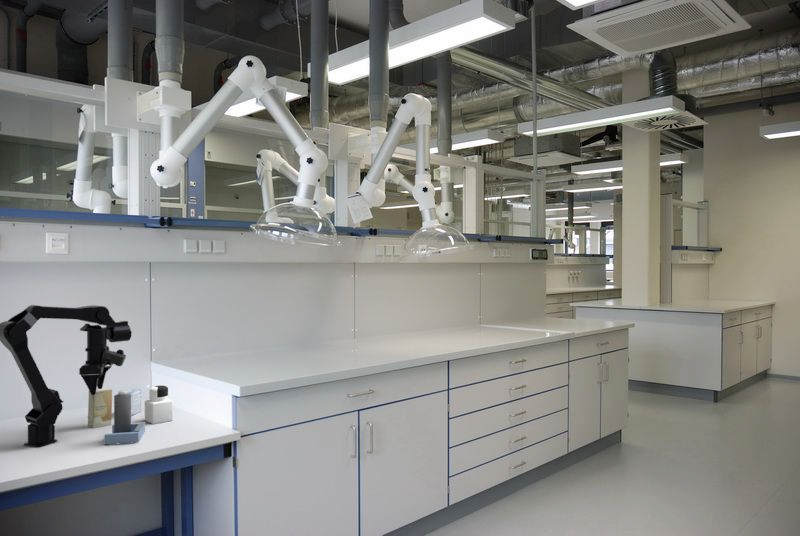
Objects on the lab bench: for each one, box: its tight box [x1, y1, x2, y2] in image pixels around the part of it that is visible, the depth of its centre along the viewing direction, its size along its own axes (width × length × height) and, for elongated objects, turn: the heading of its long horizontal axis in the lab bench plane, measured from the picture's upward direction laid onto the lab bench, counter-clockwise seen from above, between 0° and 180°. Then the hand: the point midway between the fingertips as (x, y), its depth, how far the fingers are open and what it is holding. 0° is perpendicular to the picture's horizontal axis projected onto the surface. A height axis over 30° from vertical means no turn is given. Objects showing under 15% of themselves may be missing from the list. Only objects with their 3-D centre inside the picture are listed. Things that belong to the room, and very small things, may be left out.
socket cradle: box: [103, 422, 146, 445], centre depth 186 cm, size 10×12×3 cm
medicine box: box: [124, 388, 142, 417], centre depth 216 cm, size 8×4×9 cm, turn 172°
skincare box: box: [87, 387, 113, 429], centre depth 201 cm, size 6×4×12 cm
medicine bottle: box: [144, 385, 174, 425], centre depth 207 cm, size 7×7×12 cm
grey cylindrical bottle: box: [113, 390, 132, 433], centre depth 186 cm, size 5×5×14 cm
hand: (96, 391), depth 194 cm, fingers open, 9 cm apart
